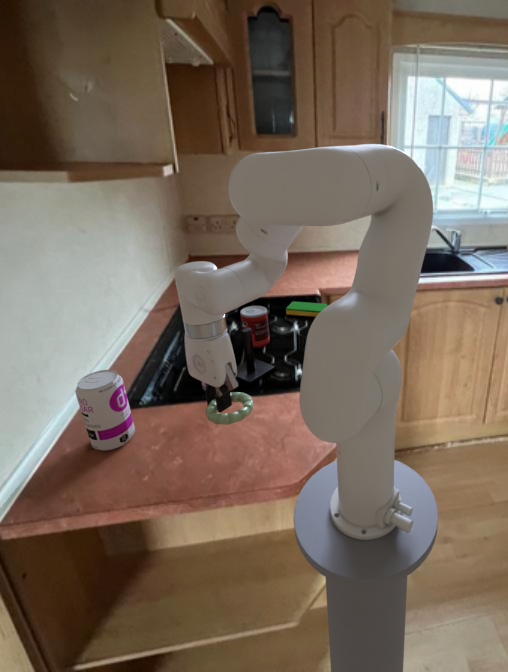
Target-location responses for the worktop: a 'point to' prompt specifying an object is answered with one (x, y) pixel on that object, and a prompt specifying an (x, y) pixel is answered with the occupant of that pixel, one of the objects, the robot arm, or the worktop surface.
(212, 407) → the ring
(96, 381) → the supplement can
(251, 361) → the stand
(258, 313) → the canned food
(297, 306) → the dish sponge
